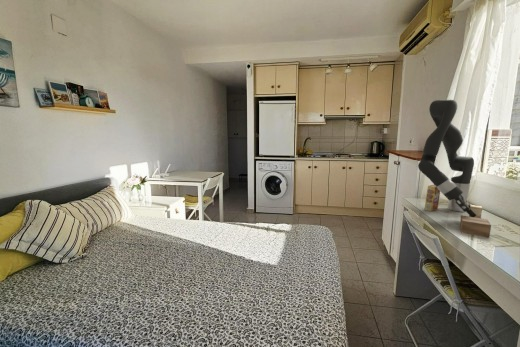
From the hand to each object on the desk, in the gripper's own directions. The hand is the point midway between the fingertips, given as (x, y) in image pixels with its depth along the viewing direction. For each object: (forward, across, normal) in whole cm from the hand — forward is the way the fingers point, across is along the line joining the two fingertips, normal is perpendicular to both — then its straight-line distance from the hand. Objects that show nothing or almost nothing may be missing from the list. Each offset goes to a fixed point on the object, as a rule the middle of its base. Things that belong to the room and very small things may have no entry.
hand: (474, 214), depth 127 cm
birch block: (+4, 0, +4) cm, 6 cm away
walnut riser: (+4, -11, +4) cm, 12 cm away
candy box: (-10, +19, +18) cm, 28 cm away
